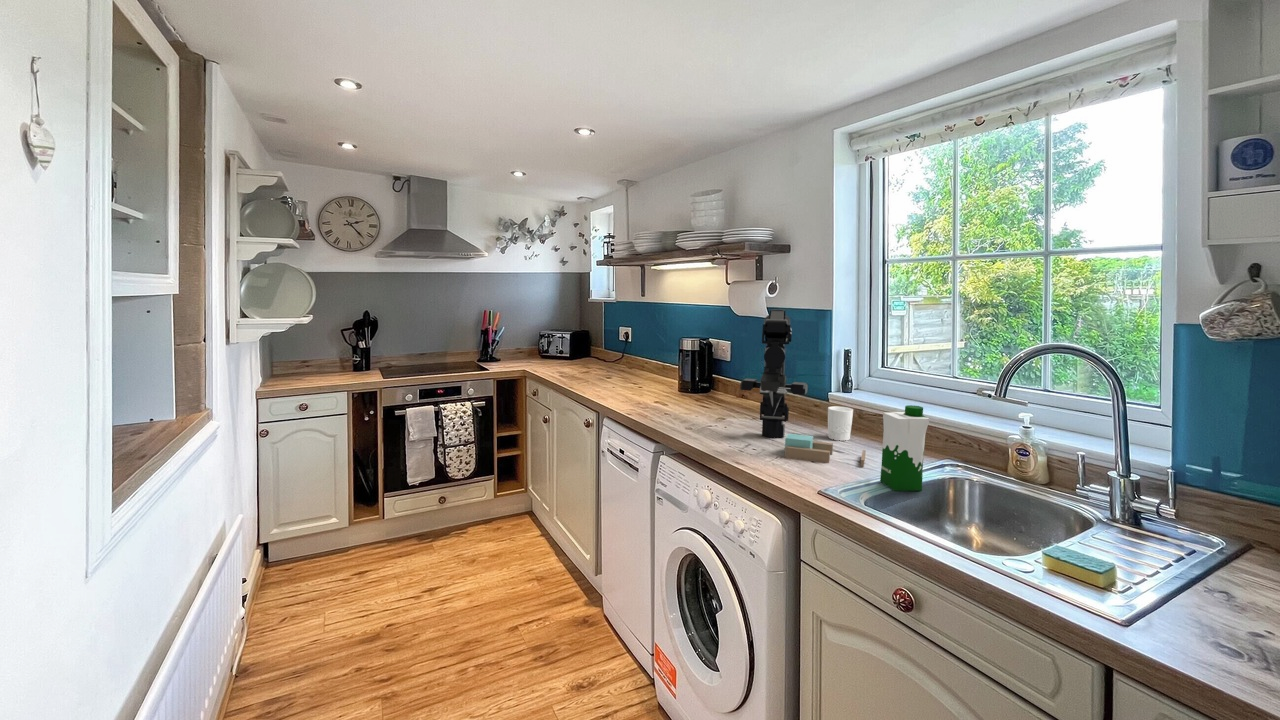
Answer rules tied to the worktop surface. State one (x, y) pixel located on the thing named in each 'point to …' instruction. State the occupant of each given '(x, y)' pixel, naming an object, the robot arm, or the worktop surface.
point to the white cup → (839, 422)
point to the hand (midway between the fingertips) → (772, 415)
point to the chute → (815, 452)
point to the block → (799, 441)
